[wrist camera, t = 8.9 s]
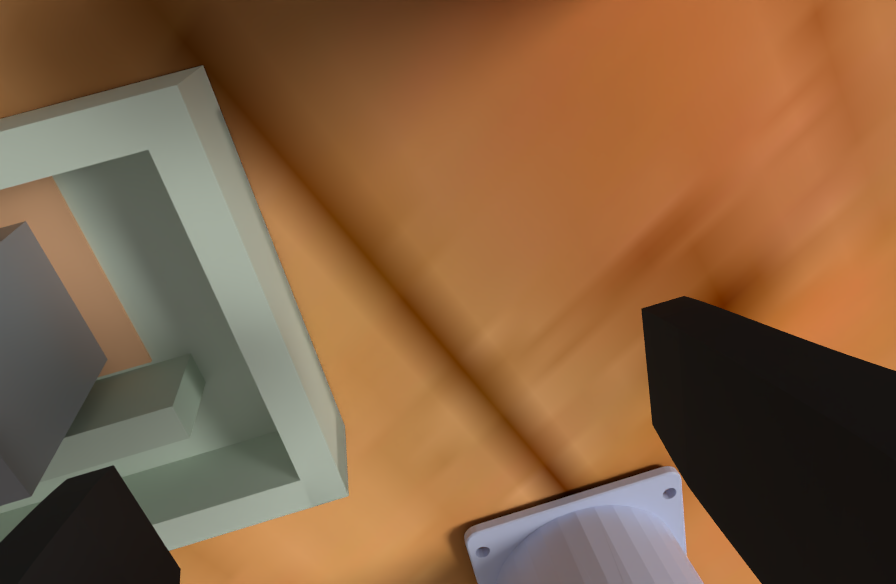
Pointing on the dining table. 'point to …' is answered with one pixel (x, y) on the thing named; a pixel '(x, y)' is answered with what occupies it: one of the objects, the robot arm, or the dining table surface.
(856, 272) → the dining table surface
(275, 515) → the grey-green rectangular frame
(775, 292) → the dining table surface
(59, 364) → the grey block with knob
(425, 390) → the dining table surface
